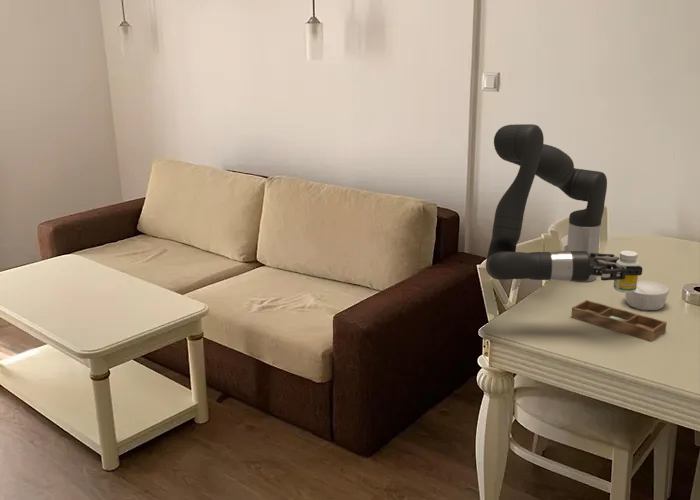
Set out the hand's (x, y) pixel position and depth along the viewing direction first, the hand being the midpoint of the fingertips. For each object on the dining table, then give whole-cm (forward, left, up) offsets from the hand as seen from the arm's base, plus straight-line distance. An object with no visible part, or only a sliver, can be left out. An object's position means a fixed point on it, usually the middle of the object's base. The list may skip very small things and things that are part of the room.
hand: (637, 266), depth 176 cm
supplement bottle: (-2, -2, -6) cm, 7 cm away
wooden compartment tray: (-4, +2, -17) cm, 18 cm away
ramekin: (-5, +20, -18) cm, 27 cm away
